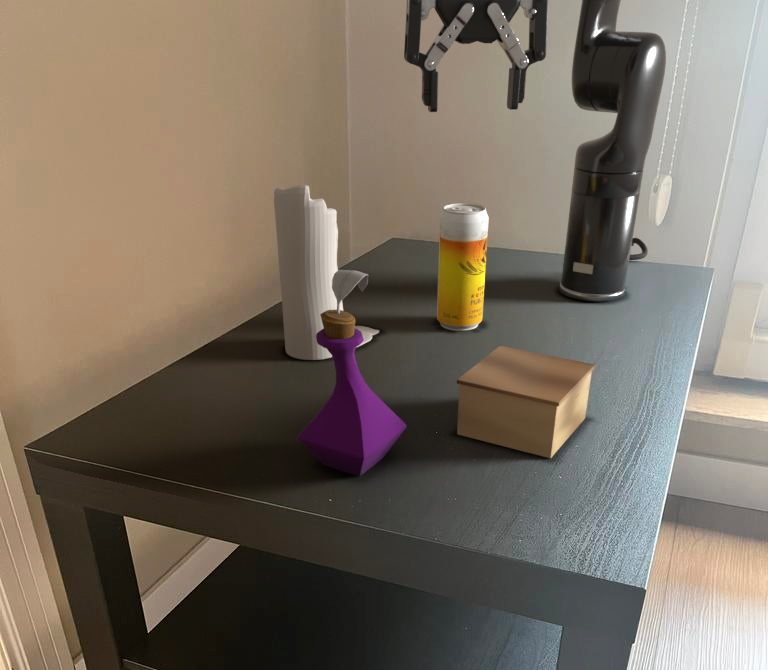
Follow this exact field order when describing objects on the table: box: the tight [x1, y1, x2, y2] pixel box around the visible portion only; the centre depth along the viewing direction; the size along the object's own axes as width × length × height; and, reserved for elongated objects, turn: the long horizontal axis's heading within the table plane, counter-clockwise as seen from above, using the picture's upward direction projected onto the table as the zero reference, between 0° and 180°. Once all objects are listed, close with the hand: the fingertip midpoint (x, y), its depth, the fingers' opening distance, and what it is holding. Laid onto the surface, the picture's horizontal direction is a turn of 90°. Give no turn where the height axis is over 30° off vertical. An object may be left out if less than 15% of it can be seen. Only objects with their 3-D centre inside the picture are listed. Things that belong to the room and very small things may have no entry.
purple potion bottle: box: [296, 269, 407, 477], centre depth 71 cm, size 8×8×18 cm
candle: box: [273, 184, 380, 361], centre depth 97 cm, size 7×14×20 cm, turn 137°
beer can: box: [436, 202, 490, 332], centre depth 104 cm, size 6×6×15 cm
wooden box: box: [456, 345, 596, 459], centre depth 81 cm, size 10×10×6 cm
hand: (472, 110), depth 84 cm, fingers open, 8 cm apart
